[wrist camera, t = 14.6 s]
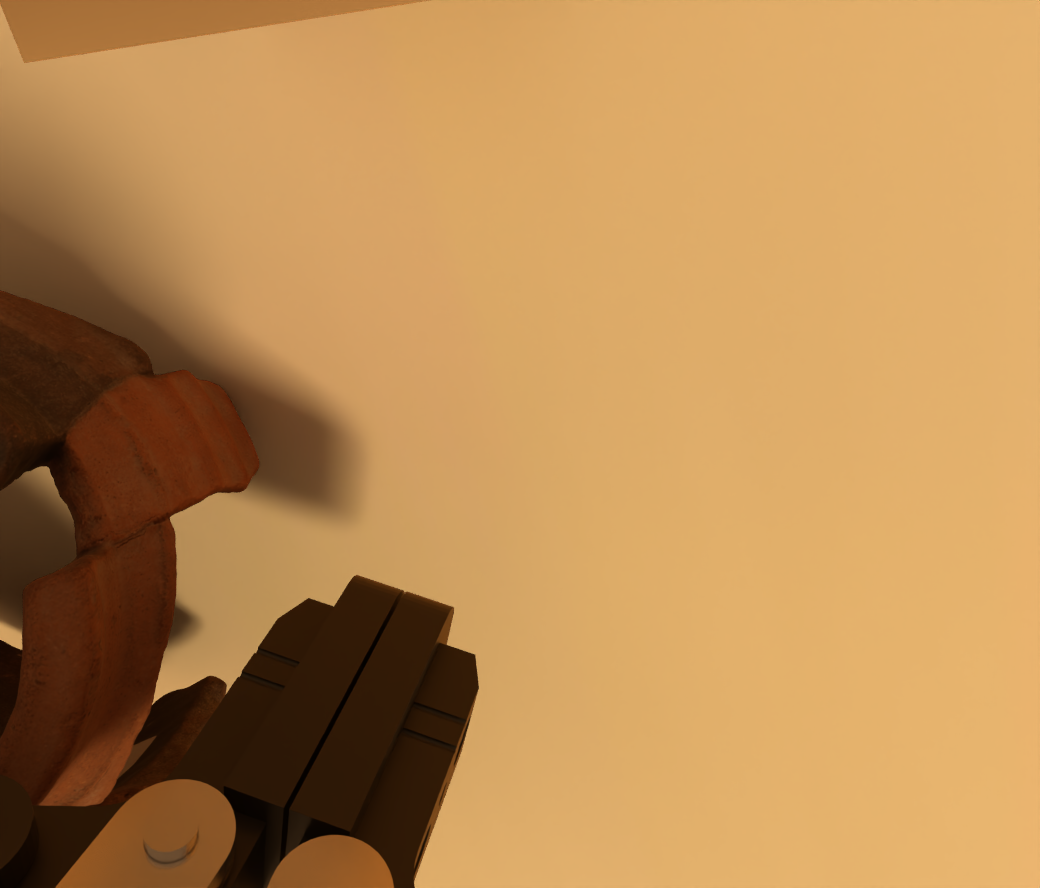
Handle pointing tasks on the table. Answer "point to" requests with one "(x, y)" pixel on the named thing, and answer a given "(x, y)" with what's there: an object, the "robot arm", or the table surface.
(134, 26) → the oak block
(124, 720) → the pottery mug
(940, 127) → the table surface
